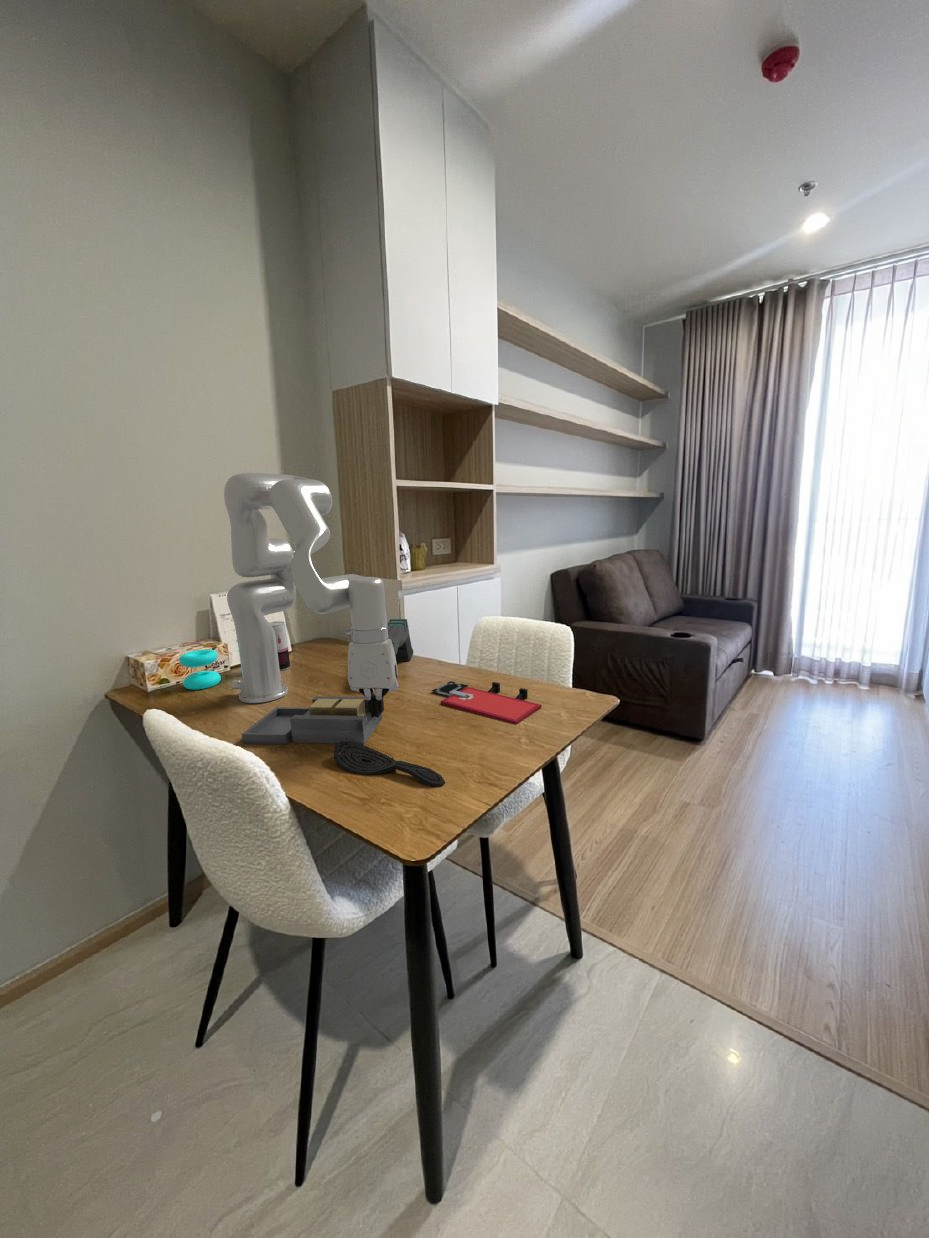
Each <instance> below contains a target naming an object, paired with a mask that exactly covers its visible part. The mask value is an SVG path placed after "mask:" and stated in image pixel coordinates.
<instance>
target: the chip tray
mask: <svg viewBox="0 0 929 1238" xmlns="http://www.w3.org/2000/svg"><path fill="white" fill-rule="evenodd" d="M308 714H309V707H290V706H289V707H288V706H287V707H286V706H282V707H280V706H279V707H275V708H273V710H271V711H269V712H268V713H267V714H266V715H264V716H263V717H262V718H260V719H259V720H258V721H256V722H255V723H253V725H252V726H250V727H249V728H248V729H247V730H244V731H243V732H242V733H241V738H242V744H244V745H245V744H247V745H248V744H249V745H250V744H251V745H252V744H253V745H288V744H289V743H290V742H291V741H293V738H292V730H291V722H290V718H291V717H293V716H294V715H308Z"/></svg>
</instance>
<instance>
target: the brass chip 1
mask: <svg viewBox="0 0 929 1238" xmlns="http://www.w3.org/2000/svg"><path fill="white" fill-rule="evenodd" d="M338 704H339V699H317V700H316V701H315V702H314V703H312V704H311V705H310V706H308V708H309V713H310V715H335V716H336V714H335V707H336V706H337V705H338Z"/></svg>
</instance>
